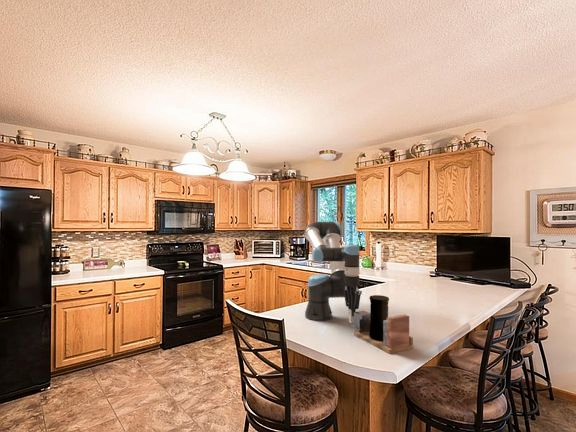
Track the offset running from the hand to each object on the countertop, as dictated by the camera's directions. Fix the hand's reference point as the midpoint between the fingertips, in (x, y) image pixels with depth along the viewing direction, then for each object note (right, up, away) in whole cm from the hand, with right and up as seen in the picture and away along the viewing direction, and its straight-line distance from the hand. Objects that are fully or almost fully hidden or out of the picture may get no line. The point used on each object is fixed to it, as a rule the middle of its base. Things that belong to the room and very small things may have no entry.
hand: (352, 321), depth 157 cm
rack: (+9, -2, -19) cm, 21 cm away
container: (+8, -1, -18) cm, 20 cm away
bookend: (+4, -1, -8) cm, 9 cm away
